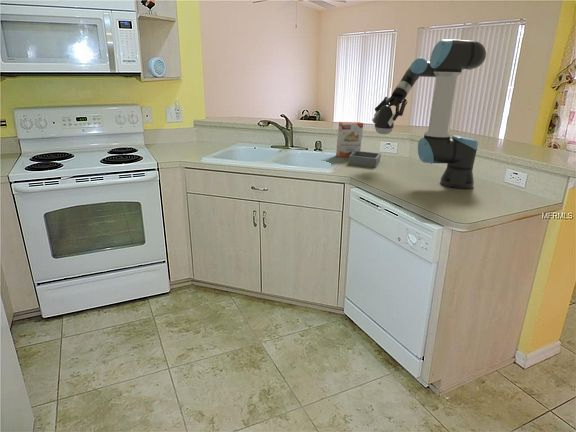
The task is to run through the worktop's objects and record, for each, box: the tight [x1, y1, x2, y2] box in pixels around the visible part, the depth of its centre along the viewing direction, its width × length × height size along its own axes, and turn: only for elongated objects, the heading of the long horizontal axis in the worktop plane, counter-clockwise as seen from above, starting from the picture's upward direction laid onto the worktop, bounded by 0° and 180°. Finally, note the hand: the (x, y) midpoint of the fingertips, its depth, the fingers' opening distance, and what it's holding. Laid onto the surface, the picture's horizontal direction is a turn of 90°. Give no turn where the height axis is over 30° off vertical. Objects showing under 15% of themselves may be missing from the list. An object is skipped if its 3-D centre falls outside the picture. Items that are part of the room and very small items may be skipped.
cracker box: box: [335, 121, 364, 158], centre depth 241 cm, size 14×6×21 cm, turn 105°
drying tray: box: [348, 150, 382, 168], centre depth 228 cm, size 16×16×5 cm
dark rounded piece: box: [374, 105, 395, 135], centre depth 215 cm, size 10×10×15 cm
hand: (381, 123), depth 214 cm, fingers closed on dark rounded piece, 10 cm apart
